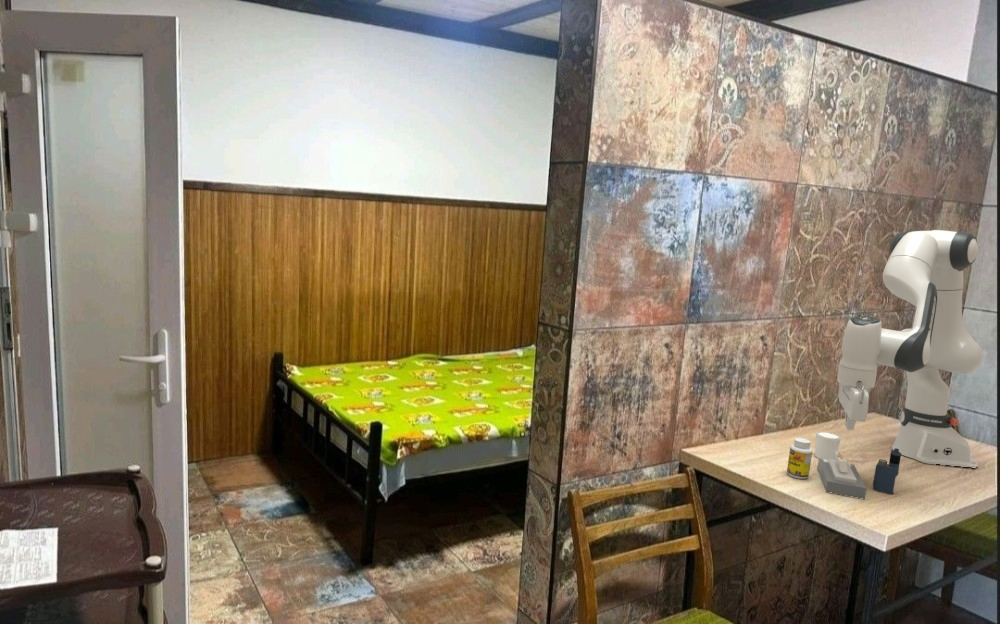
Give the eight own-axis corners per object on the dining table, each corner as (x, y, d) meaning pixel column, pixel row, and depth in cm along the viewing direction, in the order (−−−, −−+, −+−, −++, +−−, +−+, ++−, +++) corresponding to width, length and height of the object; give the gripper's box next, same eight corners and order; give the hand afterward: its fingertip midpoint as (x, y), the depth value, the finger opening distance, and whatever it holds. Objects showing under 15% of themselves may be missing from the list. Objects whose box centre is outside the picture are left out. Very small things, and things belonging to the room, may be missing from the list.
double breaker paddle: (842, 461, 180) (841, 450, 180) (847, 472, 173) (846, 460, 173) (836, 462, 181) (834, 451, 181) (841, 472, 173) (839, 460, 173)
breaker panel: (852, 474, 185) (854, 461, 184) (864, 499, 168) (867, 484, 167) (817, 468, 187) (819, 455, 187) (825, 492, 171) (828, 477, 170)
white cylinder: (840, 463, 194) (844, 440, 193) (815, 459, 195) (819, 437, 194) (834, 455, 200) (837, 433, 199) (810, 452, 202) (813, 430, 201)
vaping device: (894, 495, 172) (902, 451, 170) (871, 489, 174) (879, 446, 173) (894, 492, 174) (902, 448, 172) (872, 486, 177) (879, 444, 175)
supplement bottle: (781, 472, 182) (786, 437, 181) (796, 470, 185) (801, 436, 183) (798, 480, 177) (803, 444, 176) (813, 478, 179) (818, 442, 178)
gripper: (878, 388, 162) (870, 442, 165) (862, 371, 182) (855, 419, 184) (849, 385, 164) (842, 438, 167) (837, 368, 184) (830, 415, 186)
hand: (849, 428), depth 175 cm, fingers closed
